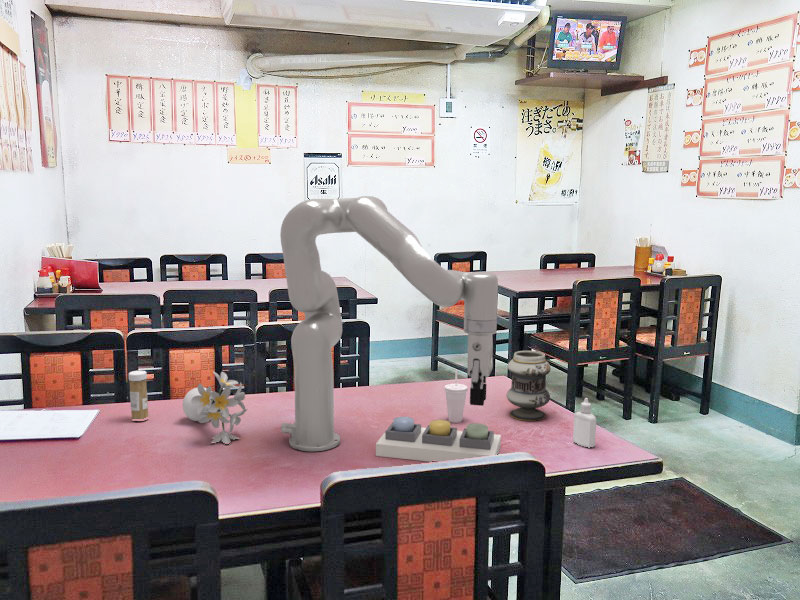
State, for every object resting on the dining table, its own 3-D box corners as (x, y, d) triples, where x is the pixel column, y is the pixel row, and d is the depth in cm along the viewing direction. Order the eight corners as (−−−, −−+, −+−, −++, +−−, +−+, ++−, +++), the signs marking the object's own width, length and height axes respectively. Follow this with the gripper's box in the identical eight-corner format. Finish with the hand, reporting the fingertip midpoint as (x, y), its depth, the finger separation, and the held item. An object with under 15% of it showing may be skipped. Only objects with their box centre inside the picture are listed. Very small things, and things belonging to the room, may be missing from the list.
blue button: (391, 431, 160) (391, 422, 159) (396, 425, 165) (396, 415, 164) (411, 433, 159) (411, 424, 158) (415, 426, 163) (415, 417, 163)
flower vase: (186, 446, 179) (215, 452, 159) (165, 382, 179) (191, 379, 158) (230, 428, 187) (263, 432, 166) (211, 366, 186) (242, 362, 165)
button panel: (375, 455, 157) (375, 435, 156) (391, 435, 170) (391, 416, 170) (494, 468, 150) (494, 447, 149) (500, 446, 163) (501, 427, 163)
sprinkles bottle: (151, 420, 180) (149, 372, 178) (135, 424, 177) (132, 375, 175) (144, 416, 183) (142, 369, 181) (128, 419, 180) (125, 371, 178)
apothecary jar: (519, 406, 196) (521, 346, 193) (556, 414, 188) (559, 352, 185) (497, 416, 186) (500, 353, 184) (536, 425, 179) (539, 360, 176)
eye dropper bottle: (579, 449, 162) (581, 402, 161) (571, 440, 168) (573, 395, 166) (596, 448, 163) (599, 401, 161) (587, 440, 168) (590, 394, 166)
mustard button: (427, 435, 158) (427, 425, 157) (431, 428, 162) (431, 419, 162) (448, 437, 156) (448, 427, 156) (451, 430, 161) (452, 420, 161)
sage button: (464, 439, 156) (465, 429, 155) (468, 431, 160) (468, 422, 160) (486, 441, 154) (486, 431, 154) (488, 433, 159) (489, 424, 159)
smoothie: (466, 417, 185) (468, 368, 183) (466, 425, 179) (468, 374, 177) (444, 416, 186) (444, 367, 184) (443, 424, 179) (444, 373, 177)
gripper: (492, 333, 144) (489, 414, 147) (500, 320, 160) (497, 393, 163) (458, 331, 146) (456, 411, 149) (469, 318, 162) (467, 391, 165)
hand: (478, 401), depth 156 cm, fingers open, 3 cm apart
